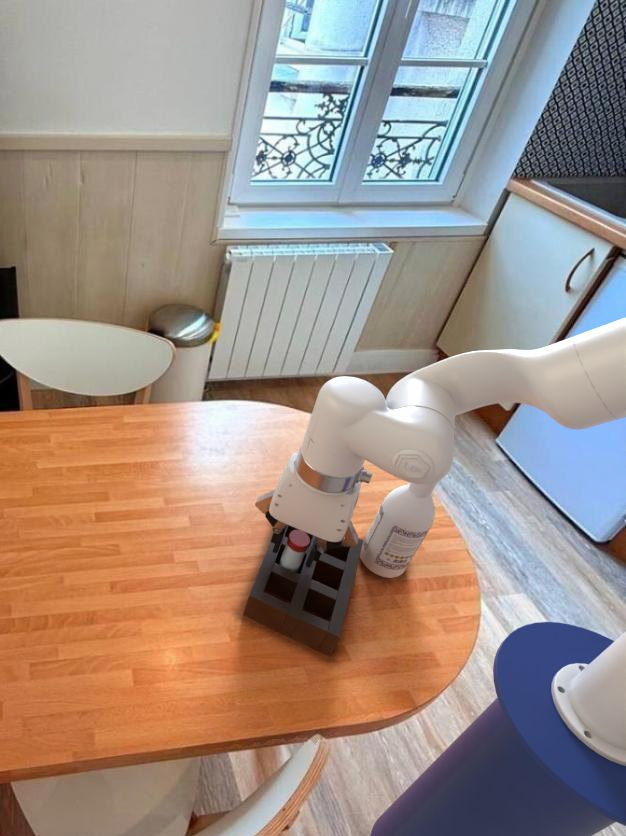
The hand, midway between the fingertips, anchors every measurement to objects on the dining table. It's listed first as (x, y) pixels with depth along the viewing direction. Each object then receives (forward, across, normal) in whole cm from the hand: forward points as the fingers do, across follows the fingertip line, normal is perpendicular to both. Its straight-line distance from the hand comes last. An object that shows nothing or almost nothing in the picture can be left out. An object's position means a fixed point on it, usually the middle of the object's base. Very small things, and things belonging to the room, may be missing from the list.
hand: (293, 551), depth 88 cm
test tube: (+7, 0, 0) cm, 7 cm away
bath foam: (+7, -13, -11) cm, 18 cm away
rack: (+7, -3, 0) cm, 7 cm away
